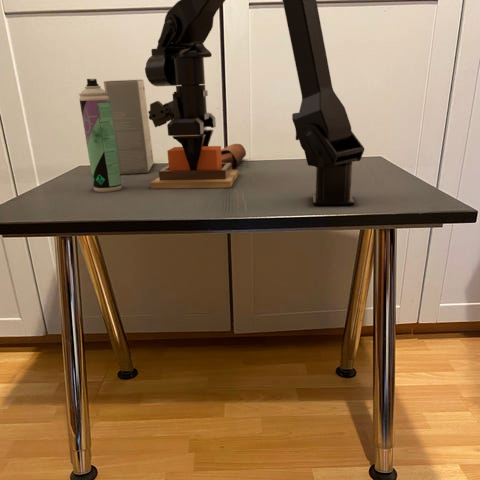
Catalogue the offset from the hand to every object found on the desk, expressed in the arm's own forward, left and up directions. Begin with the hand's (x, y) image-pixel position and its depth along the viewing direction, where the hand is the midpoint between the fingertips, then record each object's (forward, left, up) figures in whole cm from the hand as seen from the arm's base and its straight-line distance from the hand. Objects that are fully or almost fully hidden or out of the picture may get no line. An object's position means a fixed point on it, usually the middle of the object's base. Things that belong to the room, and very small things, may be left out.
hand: (196, 168), depth 100 cm
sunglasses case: (+22, -3, -3) cm, 22 cm away
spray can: (-7, +17, -3) cm, 19 cm away
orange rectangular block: (0, 0, -1) cm, 1 cm away
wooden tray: (0, 0, -3) cm, 3 cm away
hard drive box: (+18, +19, -3) cm, 26 cm away
